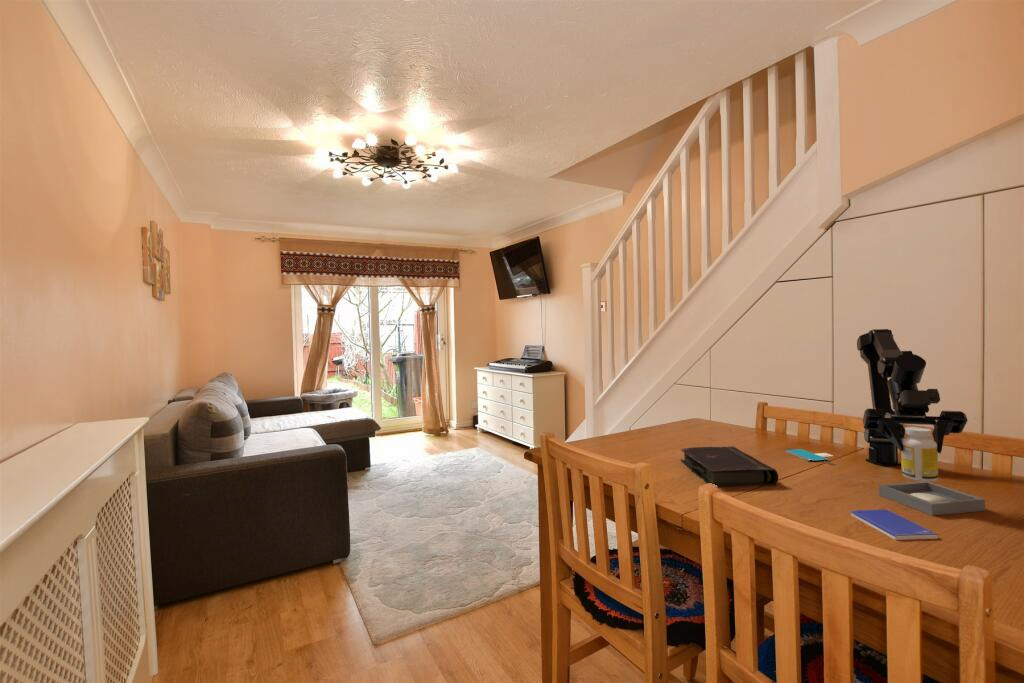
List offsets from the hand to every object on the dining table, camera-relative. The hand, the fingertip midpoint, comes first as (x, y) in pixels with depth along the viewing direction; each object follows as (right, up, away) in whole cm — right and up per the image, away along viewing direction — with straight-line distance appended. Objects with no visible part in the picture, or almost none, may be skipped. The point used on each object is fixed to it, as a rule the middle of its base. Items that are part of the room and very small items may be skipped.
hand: (920, 451), depth 108 cm
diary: (-32, -14, +29) cm, 46 cm away
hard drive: (-15, -14, -10) cm, 23 cm away
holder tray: (+3, -12, +1) cm, 12 cm away
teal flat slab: (+2, -12, +42) cm, 43 cm away
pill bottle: (+1, -7, +1) cm, 7 cm away
